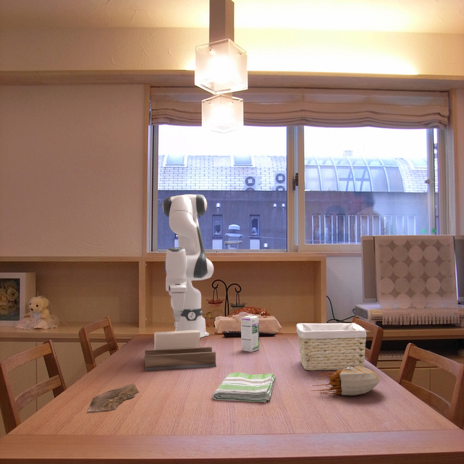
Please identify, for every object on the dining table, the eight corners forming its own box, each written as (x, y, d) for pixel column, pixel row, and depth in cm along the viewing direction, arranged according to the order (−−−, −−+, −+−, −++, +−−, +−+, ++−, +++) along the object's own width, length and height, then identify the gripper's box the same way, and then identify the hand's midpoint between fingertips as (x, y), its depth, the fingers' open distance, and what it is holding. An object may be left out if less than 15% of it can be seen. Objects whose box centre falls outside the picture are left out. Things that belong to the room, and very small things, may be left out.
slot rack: (144, 362, 167) (144, 349, 167) (211, 358, 172) (211, 346, 173) (145, 371, 155) (145, 357, 156) (216, 366, 161) (216, 353, 161)
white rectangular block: (154, 356, 177) (154, 332, 177) (197, 353, 181) (197, 330, 182) (155, 359, 172) (155, 334, 172) (199, 356, 176) (199, 332, 177)
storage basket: (301, 371, 154) (300, 330, 154) (295, 360, 170) (295, 322, 170) (368, 372, 153) (368, 330, 153) (357, 360, 169) (356, 322, 170)
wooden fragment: (106, 416, 114) (106, 412, 114) (71, 412, 117) (71, 408, 117) (151, 386, 139) (151, 383, 139) (121, 384, 142) (121, 380, 142)
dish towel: (210, 401, 125) (210, 389, 126) (226, 378, 148) (226, 367, 148) (269, 404, 122) (269, 392, 122) (276, 380, 145) (276, 370, 145)
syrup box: (252, 352, 183) (251, 317, 184) (240, 350, 187) (240, 316, 187) (259, 349, 188) (259, 316, 188) (248, 347, 191) (248, 314, 192)
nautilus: (315, 403, 123) (306, 389, 138) (390, 398, 123) (372, 384, 138) (313, 375, 124) (304, 364, 139) (387, 369, 124) (370, 359, 139)
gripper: (167, 285, 187) (167, 317, 186) (170, 288, 167) (170, 324, 166) (181, 284, 189) (182, 316, 188) (186, 287, 169) (187, 323, 168)
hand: (176, 320), depth 177 cm, fingers open, 8 cm apart
